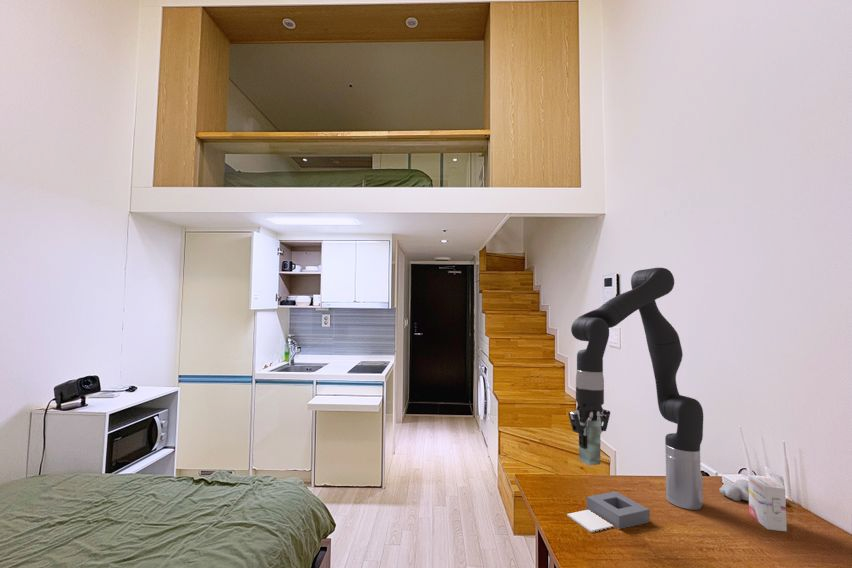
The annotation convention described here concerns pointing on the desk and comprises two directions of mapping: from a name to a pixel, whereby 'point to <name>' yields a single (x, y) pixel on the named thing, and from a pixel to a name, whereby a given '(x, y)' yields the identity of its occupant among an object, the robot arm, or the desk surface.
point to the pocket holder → (618, 509)
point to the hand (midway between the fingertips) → (589, 446)
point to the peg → (591, 444)
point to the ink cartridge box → (768, 500)
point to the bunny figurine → (736, 490)
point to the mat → (589, 520)
